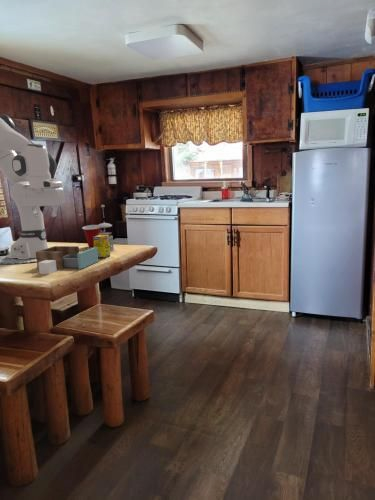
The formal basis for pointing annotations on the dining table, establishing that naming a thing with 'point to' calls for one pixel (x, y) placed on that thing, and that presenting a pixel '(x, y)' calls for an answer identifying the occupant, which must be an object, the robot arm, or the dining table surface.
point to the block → (47, 267)
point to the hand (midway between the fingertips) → (45, 216)
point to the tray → (81, 259)
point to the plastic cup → (91, 233)
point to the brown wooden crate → (56, 254)
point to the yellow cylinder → (102, 245)
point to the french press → (107, 233)
